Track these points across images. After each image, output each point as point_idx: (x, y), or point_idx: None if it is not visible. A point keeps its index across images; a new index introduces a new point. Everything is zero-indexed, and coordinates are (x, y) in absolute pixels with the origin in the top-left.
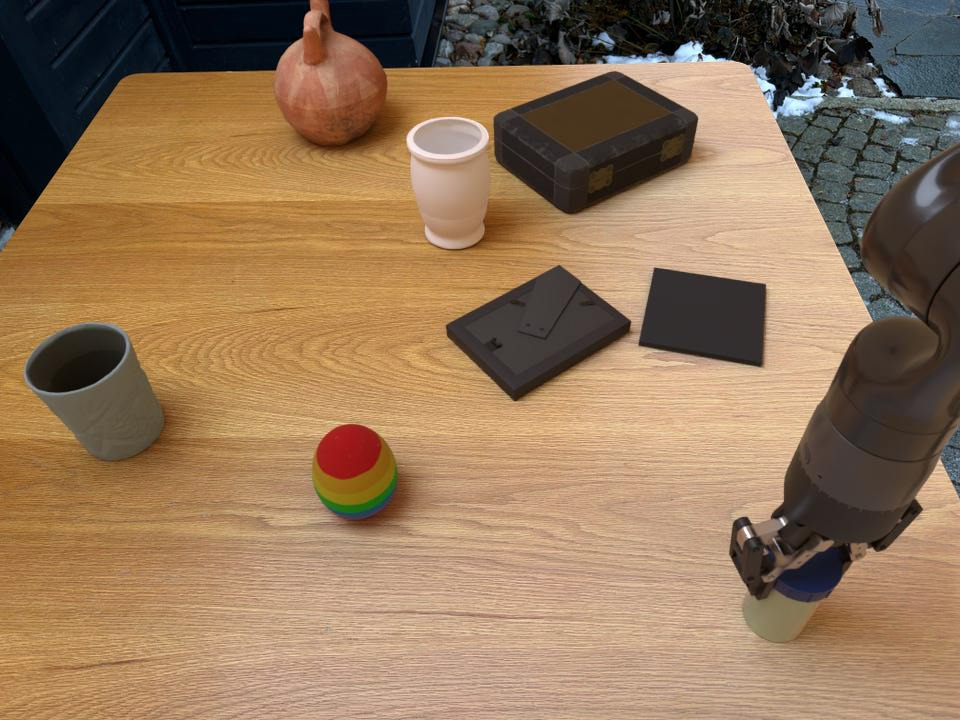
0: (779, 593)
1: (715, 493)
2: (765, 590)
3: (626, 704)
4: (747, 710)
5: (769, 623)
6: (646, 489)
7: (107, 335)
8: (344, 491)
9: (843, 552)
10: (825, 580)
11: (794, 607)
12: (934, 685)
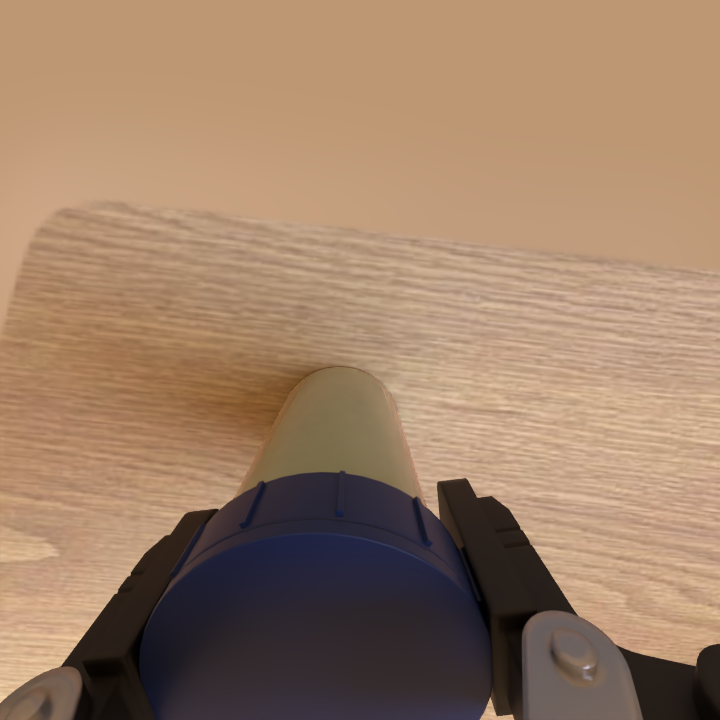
0: None
1: None
2: (489, 531)
3: (690, 281)
4: (461, 243)
5: (384, 405)
6: None
7: None
8: None
9: (115, 708)
10: (252, 586)
11: (362, 447)
12: (61, 250)
